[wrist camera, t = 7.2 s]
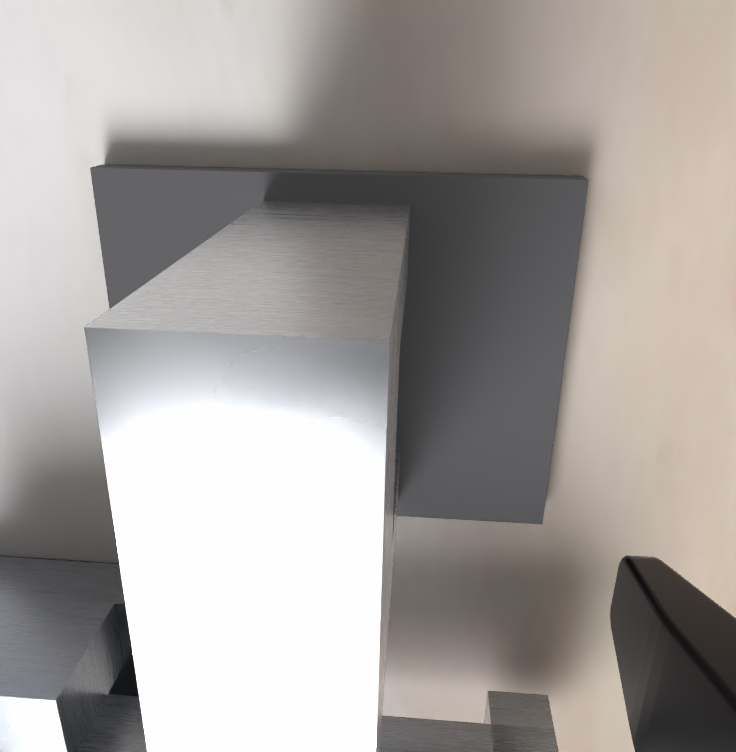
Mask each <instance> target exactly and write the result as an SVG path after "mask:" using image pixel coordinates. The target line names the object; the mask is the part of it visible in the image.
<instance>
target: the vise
mask: <svg viewBox="0 0 736 752" xmlns="http://www.w3.org/2000/svg"><path fill="white" fill-rule="evenodd" d="M0 752H148V751H147V744H146V737H145V731H144V724H143V717H142V710H141V704H140V697H139V690H138V684H137V677H136V670H135V664H134V657H133V650H132V643H131V637H130V630H129V623H128V617H127V610H126V603H125V597H124V590H123V583H122V576H121V570H120V564H110V563H95V562H80V561H64V560H49V559H34V558H18V557H3V556H0ZM379 752H558V746H557V741H556V736H555V731H554V726H553V721H552V715H551V710H550V705H549V700H548V695H537V694H524V693H511V692H498V691H488V693H487V702H486V711H485V720H484V724H482V723H469V722H457V721H444V720H431V719H419V718H406V717H393V716H382V722H381V735H380V748H379Z"/></svg>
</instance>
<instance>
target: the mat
mask: <svg viewBox="0 0 736 752" xmlns="http://www.w3.org/2000/svg"><path fill="white" fill-rule="evenodd" d="M90 169H91V176H92V184H93V191H94V198H95V206H96V213H97V220H98V227H99V235H100V242H101V249H102V257H103V264H104V271H105V278H106V286H107V293H108V300H109V307H110V309H111V308H112V307H113V306H115V305H116V304H118V303H119V302H121V301H122V300H123V299H125V298H126V297H128V296H129V295H130V294H132V293H133V292H135V291H136V290H137V289H139V288H140V287H142V286H143V285H144V284H146V283H147V282H149V281H150V280H151V279H153V278H154V277H156V276H157V275H159V274H160V273H161V272H163V271H164V270H166V269H167V268H168V267H170V266H171V265H173V264H174V263H175V262H177V261H178V260H180V259H181V258H182V257H184V256H185V255H187V254H188V253H190V252H191V251H192V250H194V249H195V248H197V247H198V246H199V245H201V244H202V243H204V242H205V241H206V240H208V239H209V238H211V237H212V236H213V235H215V234H216V233H218V232H219V231H221V230H222V229H223V228H225V227H226V226H228V225H229V224H230V223H232V222H233V221H235V220H236V219H237V218H239V217H240V216H242V215H243V214H244V213H246V212H247V211H249V210H250V209H252V208H253V207H254V206H256V205H257V204H259V203H260V202H261V201H263V200H274V201H305V202H336V203H367V204H398V205H410V226H409V250H408V273H407V288H406V297H405V306H404V315H403V324H402V333H401V342H400V355H399V380H398V406H397V431H396V442H400V465H399V489H398V507H397V516H411V517H428V518H445V519H462V520H479V521H496V522H513V523H530V524H542V522H543V515H544V507H545V500H546V492H547V485H548V477H549V470H550V463H551V455H552V448H553V440H554V433H555V425H556V418H557V410H558V403H559V395H560V388H561V381H562V373H563V366H564V358H565V351H566V343H567V336H568V328H569V321H570V314H571V306H572V299H573V291H574V284H575V276H576V269H577V261H578V254H579V246H580V239H581V232H582V224H583V217H584V209H585V202H586V194H587V187H588V180H587V179H586V178H584V177H583V176H551V175H510V174H469V173H428V172H386V171H345V170H304V169H263V168H222V167H180V166H139V165H100V166H96V167H92V168H90Z"/></svg>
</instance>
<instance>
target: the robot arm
mask: <svg viewBox="0 0 736 752" xmlns="http://www.w3.org/2000/svg"><path fill="white" fill-rule="evenodd" d="M610 621H611V629H612V635H613V640H614V645H615V651H616V656H617V661H618V667H619V672H620V678H621V683H622V688H623V694H624V699H625V704H626V710H627V715H628V720H629V726H630V730H631V735H632V740H633V745H634V748H635V752H736V618H735V617H733V616H732V615H731V614H730V613H728V612H727V611H726V610H724V609H723V608H722V607H720V606H719V605H718V604H717V603H715V602H714V601H713V600H711V599H710V598H709V597H708V596H706V595H705V594H704V593H702V592H701V591H700V590H699V589H697V588H696V587H695V586H693V585H692V584H691V583H690V582H688V581H687V580H686V579H684V578H683V577H682V576H681V575H679V574H678V573H677V572H675V571H674V570H673V569H671V568H670V567H669V566H668V565H666V564H665V563H664V562H662V561H661V560H659V559H658V558H655V557H645V556H625V557H623V558H622V560H621V561H620V564H619V567H618V573H617V578H616V583H615V588H614V593H613V599H612V604H611V612H610Z"/></svg>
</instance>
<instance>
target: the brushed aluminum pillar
mask: <svg viewBox="0 0 736 752" xmlns="http://www.w3.org/2000/svg"><path fill="white" fill-rule="evenodd" d="M409 226H410V205H398V204H367V203H336V202H305V201H274V200H263V201H261V202H260V203H259V204H257V205H256V206H254V207H253V208H252V209H250V210H249V211H247V212H246V213H244V214H243V215H242V216H240V217H239V218H237V219H236V220H235V221H233V222H232V223H230V224H229V225H228V226H226V227H225V228H223V229H222V230H221V231H219V232H218V233H216V234H215V235H213V236H212V237H211V238H209V239H208V240H206V241H205V242H204V243H202V244H201V245H199V246H198V247H197V248H195V249H194V250H192V251H191V252H190V253H188V254H187V255H185V256H184V257H182V258H181V259H180V260H178V261H177V262H175V263H174V264H173V265H171V266H170V267H168V268H167V269H166V270H164V271H163V272H161V273H160V274H159V275H157V276H156V277H154V278H153V279H151V280H150V281H149V282H147V283H146V284H144V285H143V286H142V287H140V288H139V289H137V290H136V291H135V292H133V293H132V294H130V295H129V296H128V297H126V298H125V299H123V300H122V301H121V302H119V303H118V304H116V305H115V306H113V307H112V308H111V309H109V310H108V311H106V312H105V313H104V314H102V315H101V316H99V317H98V318H97V319H95V320H94V321H92V322H91V323H90V324H88V325H87V326H85V327H84V329H85V335H86V342H87V349H88V355H89V362H90V369H91V375H92V382H93V389H94V396H95V402H96V409H97V416H98V422H99V429H100V436H101V442H102V449H103V456H104V463H105V469H106V476H107V483H108V489H109V496H110V503H111V509H112V516H113V523H114V530H115V536H116V543H117V550H118V556H119V563H120V570H121V576H122V583H123V590H124V597H125V603H126V610H127V617H128V623H129V630H130V637H131V643H132V650H133V657H134V664H135V670H136V677H137V684H138V690H139V697H140V704H141V710H142V717H143V724H144V731H145V737H146V744H147V751H148V752H379V748H380V735H381V722H382V708H383V695H384V681H385V668H386V655H387V641H388V628H389V614H390V601H391V588H392V574H393V561H394V547H395V534H396V521H397V507H398V489H399V465H400V442H396V431H397V406H398V380H399V355H400V342H401V333H402V324H403V315H404V306H405V297H406V288H407V273H408V250H409Z"/></svg>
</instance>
